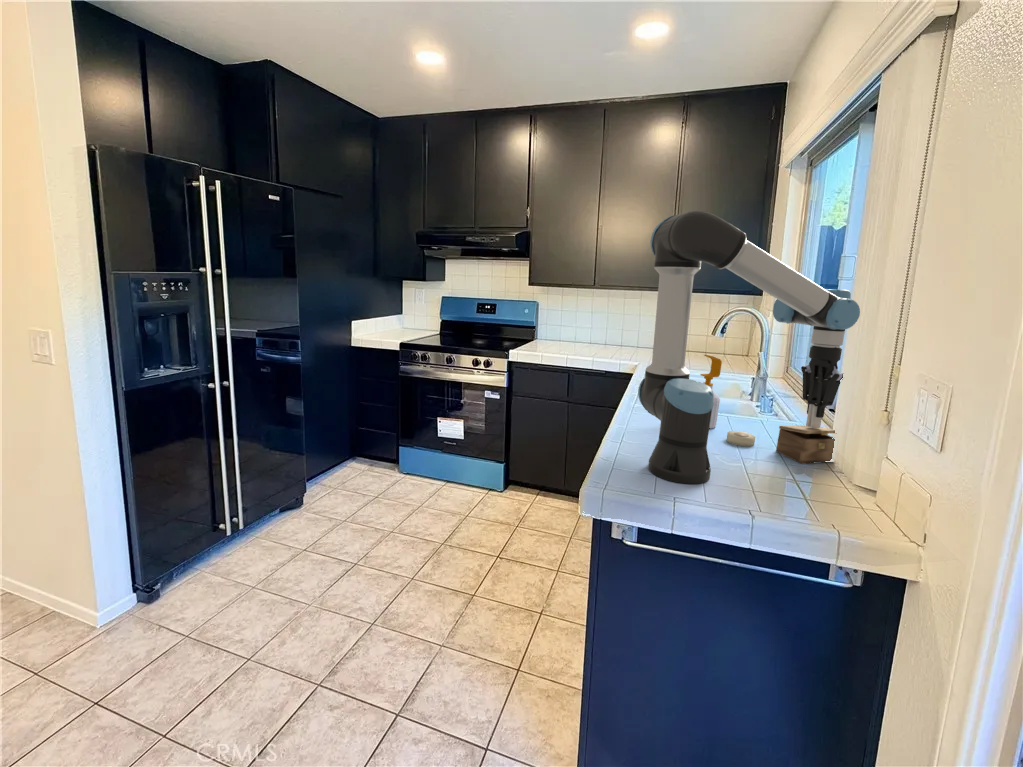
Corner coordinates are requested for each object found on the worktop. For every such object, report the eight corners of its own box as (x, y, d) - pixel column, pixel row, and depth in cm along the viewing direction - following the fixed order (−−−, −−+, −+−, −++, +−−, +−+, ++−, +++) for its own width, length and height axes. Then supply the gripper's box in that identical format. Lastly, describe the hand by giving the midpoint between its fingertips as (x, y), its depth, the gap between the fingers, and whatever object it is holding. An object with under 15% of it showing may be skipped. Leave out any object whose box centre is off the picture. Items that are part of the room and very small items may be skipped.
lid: (807, 435, 137) (807, 431, 137) (779, 429, 148) (779, 425, 148) (841, 434, 140) (842, 430, 140) (812, 429, 150) (812, 425, 150)
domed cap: (737, 446, 152) (738, 438, 151) (721, 438, 159) (722, 430, 159) (759, 446, 153) (761, 438, 153) (743, 438, 161) (744, 430, 160)
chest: (801, 463, 140) (806, 440, 138) (775, 451, 149) (779, 428, 148) (834, 462, 142) (839, 439, 140) (807, 450, 152) (811, 428, 150)
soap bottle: (682, 422, 175) (691, 353, 170) (702, 420, 179) (712, 352, 174) (701, 429, 167) (711, 357, 162) (721, 428, 171) (732, 357, 165)
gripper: (859, 349, 133) (844, 433, 137) (818, 342, 146) (805, 420, 151) (835, 348, 131) (820, 434, 136) (796, 342, 144) (784, 420, 149)
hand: (812, 426), depth 143 cm, fingers closed
